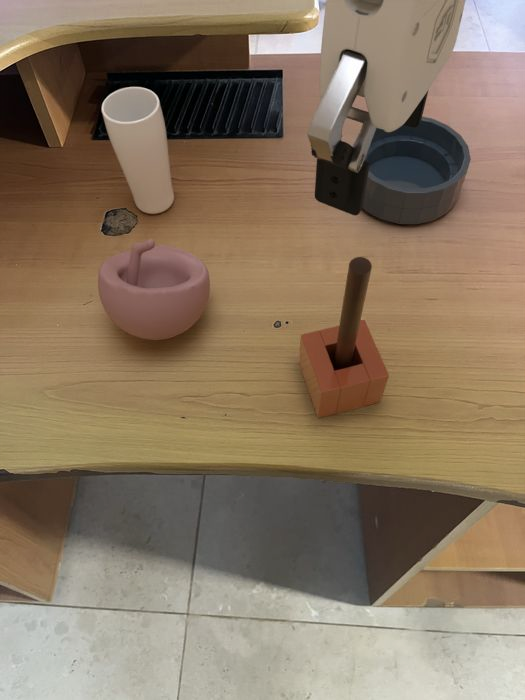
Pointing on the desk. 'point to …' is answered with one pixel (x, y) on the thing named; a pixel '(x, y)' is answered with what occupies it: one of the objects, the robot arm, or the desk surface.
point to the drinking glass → (140, 146)
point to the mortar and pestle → (154, 290)
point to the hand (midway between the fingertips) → (369, 160)
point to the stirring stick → (351, 311)
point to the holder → (341, 371)
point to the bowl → (415, 172)
